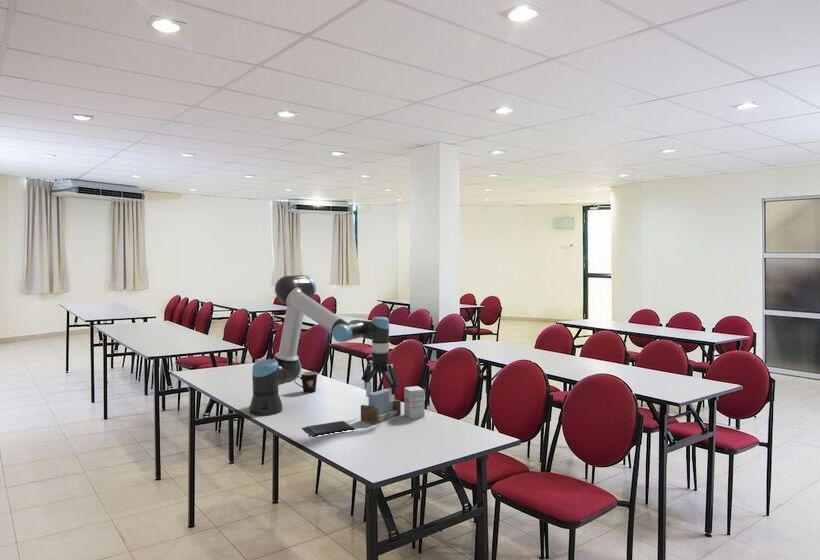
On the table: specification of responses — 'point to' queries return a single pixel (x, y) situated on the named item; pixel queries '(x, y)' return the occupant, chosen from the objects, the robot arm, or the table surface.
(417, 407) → the supplement box
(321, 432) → the wallet
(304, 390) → the coffee mug
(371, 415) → the track frame
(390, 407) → the blue-grey rectangular block
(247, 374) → the table surface
